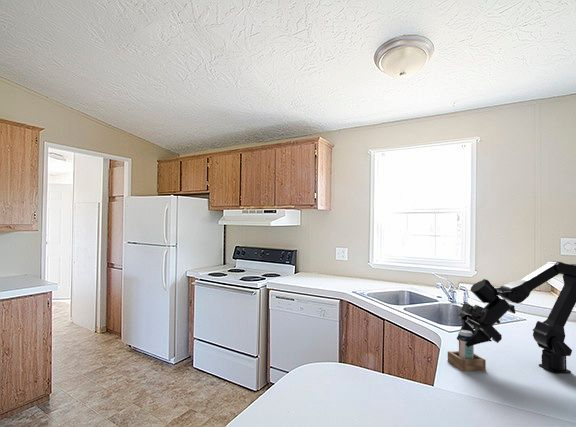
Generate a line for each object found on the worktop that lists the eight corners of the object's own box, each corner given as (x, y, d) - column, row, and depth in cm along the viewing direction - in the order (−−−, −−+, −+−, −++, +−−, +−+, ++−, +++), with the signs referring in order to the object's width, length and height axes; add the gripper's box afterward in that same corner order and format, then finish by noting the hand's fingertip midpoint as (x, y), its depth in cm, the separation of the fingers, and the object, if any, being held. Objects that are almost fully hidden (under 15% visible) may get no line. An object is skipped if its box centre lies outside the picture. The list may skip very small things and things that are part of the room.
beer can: (465, 362, 116) (464, 328, 117) (477, 367, 112) (476, 332, 113) (455, 364, 114) (455, 330, 115) (467, 369, 110) (467, 334, 111)
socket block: (469, 360, 118) (468, 350, 118) (485, 370, 109) (485, 359, 110) (447, 361, 117) (447, 351, 117) (462, 371, 108) (462, 360, 109)
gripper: (463, 291, 124) (434, 319, 124) (491, 301, 105) (458, 334, 105) (484, 312, 123) (455, 340, 123) (516, 326, 104) (483, 359, 104)
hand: (461, 342), depth 114 cm, fingers open, 6 cm apart
